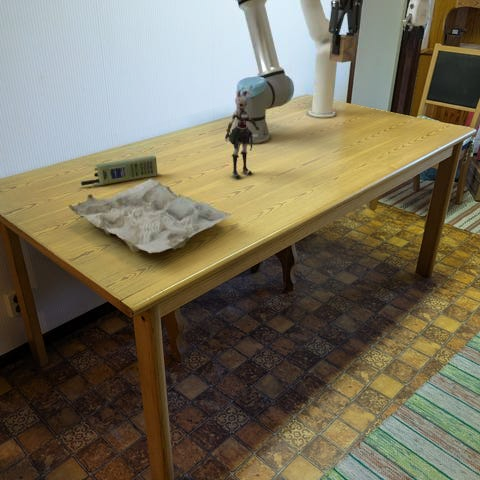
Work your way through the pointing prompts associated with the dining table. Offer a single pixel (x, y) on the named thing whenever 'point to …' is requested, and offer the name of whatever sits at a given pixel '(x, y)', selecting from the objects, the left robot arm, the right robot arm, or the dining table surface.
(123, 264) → the dining table surface
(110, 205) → the grey bumpy flat piece
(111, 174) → the handheld radio
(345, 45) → the block
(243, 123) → the figurine
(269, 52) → the left robot arm
